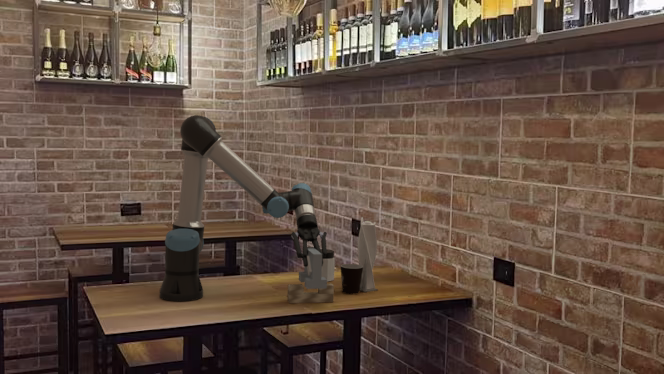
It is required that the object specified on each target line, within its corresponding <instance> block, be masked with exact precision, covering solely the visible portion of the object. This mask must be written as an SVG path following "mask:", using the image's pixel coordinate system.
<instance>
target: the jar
mask: <svg viewBox="0 0 664 374" xmlns="http://www.w3.org/2000/svg"><path fill="white" fill-rule="evenodd" d="M320 249H321V252H322V248H320ZM335 263H336V258H335V251H334V250H333V249H328V248H327V254H326V257H325V258H323V266H322V275H321V277H324V278H326V279H327V283H328V282H332V281H334V280H335Z"/></svg>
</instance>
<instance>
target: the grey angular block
mask: <svg viewBox="0 0 664 374" xmlns="http://www.w3.org/2000/svg"><path fill="white" fill-rule="evenodd" d="M307 256H309V258H310V264H311V270H312V272H311V275H310V276H308V271H307V266H306V267H305V266H304V265H303V266H304V267H303V268H304V269H303V270H304V271H298V281H299V282H300V283H304V287H305V288H306V290H314V289H315V290H316V289H317V290H318V289H321V288H327V284H328V282H327V279H326V278H324V277H321V275H322V254H321V253H320V252H319V251H317V250H316V249H315V248H314V246H307Z"/></svg>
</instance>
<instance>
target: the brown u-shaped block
mask: <svg viewBox="0 0 664 374" xmlns="http://www.w3.org/2000/svg"><path fill="white" fill-rule="evenodd" d="M304 287H305V285H304V284H301V283H298V284H295V283H294V284H287V302H288V303H289V304H312V303H313V304H314V303H333V302H334V294H335V293H334V292H335V291H334V289H335V285H334V284H333V283H327V288H321V289H317V291H310V292H309V291H308V292H304V290H305V289H304Z"/></svg>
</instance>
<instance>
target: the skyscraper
mask: <svg viewBox="0 0 664 374" xmlns="http://www.w3.org/2000/svg"><path fill="white" fill-rule="evenodd" d="M376 224H377V223H376V221H374V222H372V221H367V220H365V221H364V217H363V216H361V218H360V229H359V231H358V232H359V233H358V238H357V261H358V265H362V266H363V271H362V277H361V284H360V290H359V292H362V293H369V292H376V291H378V290H379V289H378V288H376V285H375V281H374V271H373V269H374V266H375V263H376V262H375V261H376V257H377V251H378V250H377V249H378V238H377V229H376Z"/></svg>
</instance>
